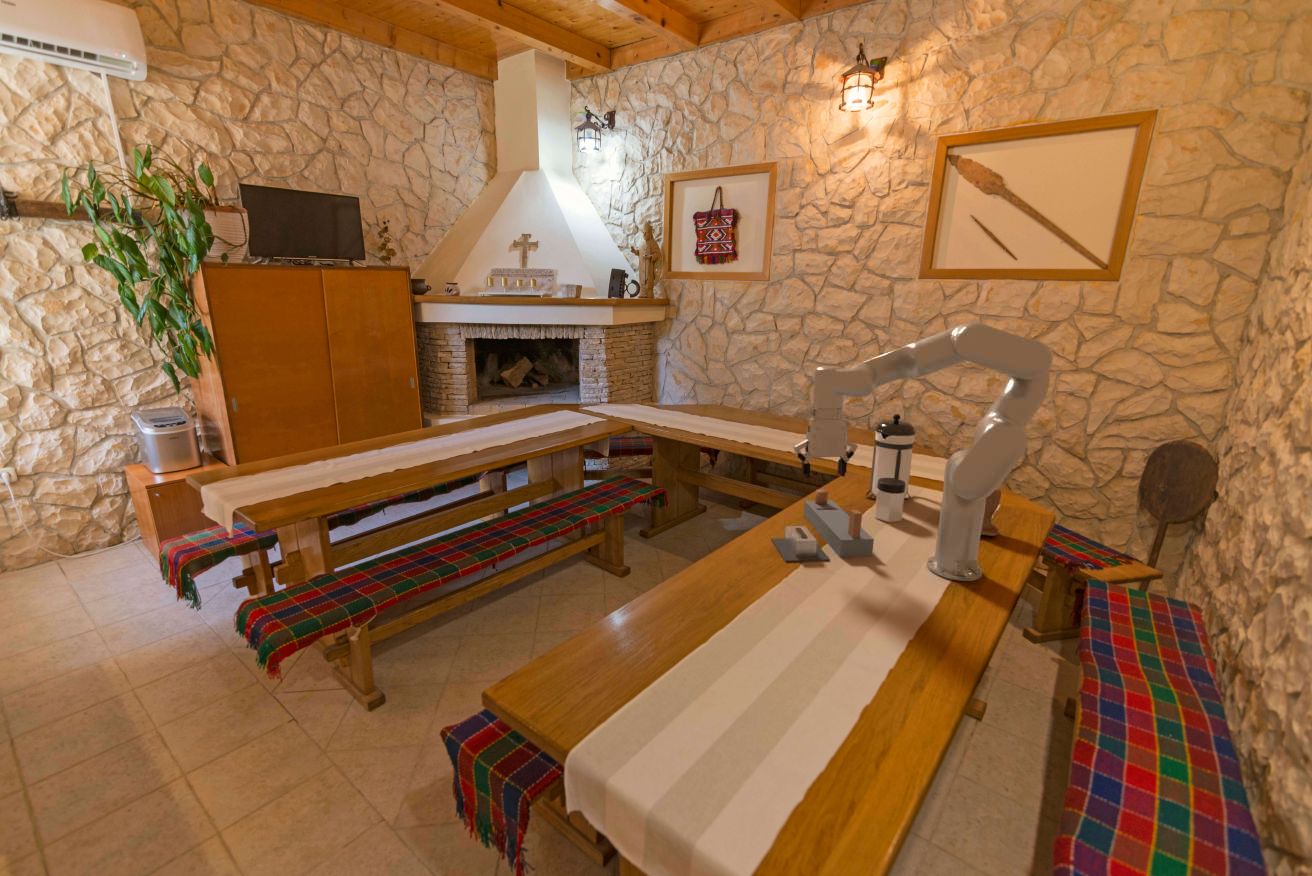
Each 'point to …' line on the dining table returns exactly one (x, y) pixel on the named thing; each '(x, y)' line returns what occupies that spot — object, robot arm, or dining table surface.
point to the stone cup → (990, 513)
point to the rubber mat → (790, 557)
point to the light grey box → (800, 541)
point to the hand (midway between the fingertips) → (823, 475)
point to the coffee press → (892, 452)
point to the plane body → (838, 526)
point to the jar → (889, 499)
